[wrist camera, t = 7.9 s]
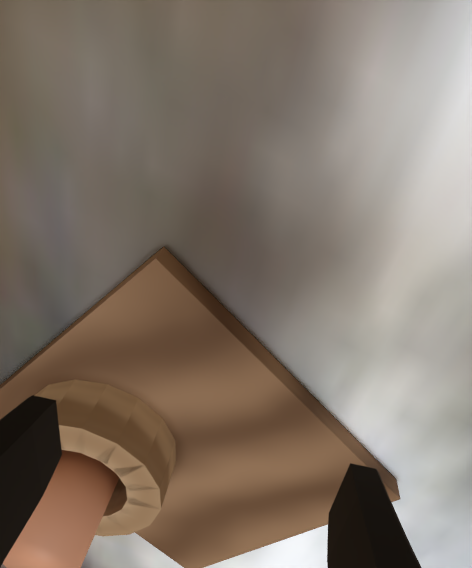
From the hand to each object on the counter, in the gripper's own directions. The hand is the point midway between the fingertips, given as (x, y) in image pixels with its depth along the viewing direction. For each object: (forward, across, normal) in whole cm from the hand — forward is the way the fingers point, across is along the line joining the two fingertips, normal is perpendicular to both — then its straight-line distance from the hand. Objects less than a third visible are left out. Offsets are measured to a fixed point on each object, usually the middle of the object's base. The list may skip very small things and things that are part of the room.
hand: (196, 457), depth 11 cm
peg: (+9, +7, +13) cm, 17 cm away
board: (+10, +2, +13) cm, 16 cm away
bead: (+9, +7, +13) cm, 17 cm away
